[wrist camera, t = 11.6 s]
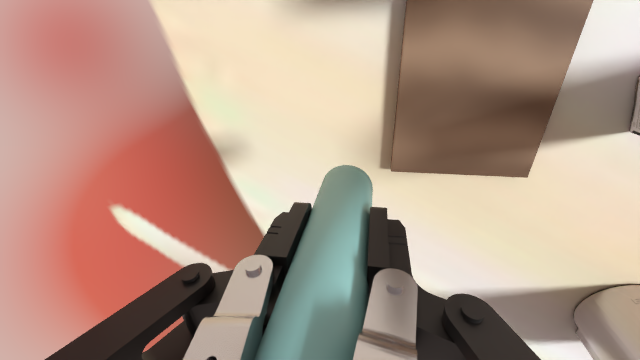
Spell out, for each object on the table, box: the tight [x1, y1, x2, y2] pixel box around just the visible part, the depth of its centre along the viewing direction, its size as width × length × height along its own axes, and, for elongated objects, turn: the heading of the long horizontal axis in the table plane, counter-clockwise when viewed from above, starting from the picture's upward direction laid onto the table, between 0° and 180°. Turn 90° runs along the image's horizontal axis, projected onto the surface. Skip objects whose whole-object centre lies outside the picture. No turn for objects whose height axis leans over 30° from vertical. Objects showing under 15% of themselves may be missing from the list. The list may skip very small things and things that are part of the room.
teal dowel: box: [255, 165, 373, 360], centre depth 10 cm, size 3×3×12 cm
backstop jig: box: [391, 0, 593, 177], centre depth 16 cm, size 26×12×9 cm, turn 2°
